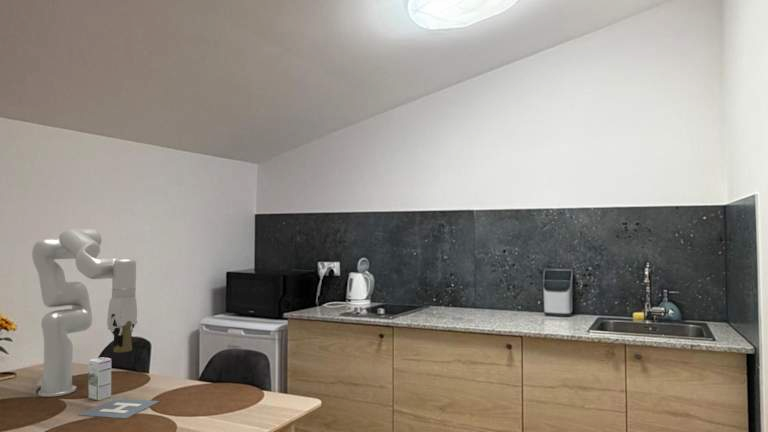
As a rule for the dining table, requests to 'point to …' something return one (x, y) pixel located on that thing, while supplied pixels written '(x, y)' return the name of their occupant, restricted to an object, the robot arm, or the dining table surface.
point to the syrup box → (99, 378)
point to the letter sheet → (119, 408)
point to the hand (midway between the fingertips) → (122, 344)
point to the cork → (125, 339)
